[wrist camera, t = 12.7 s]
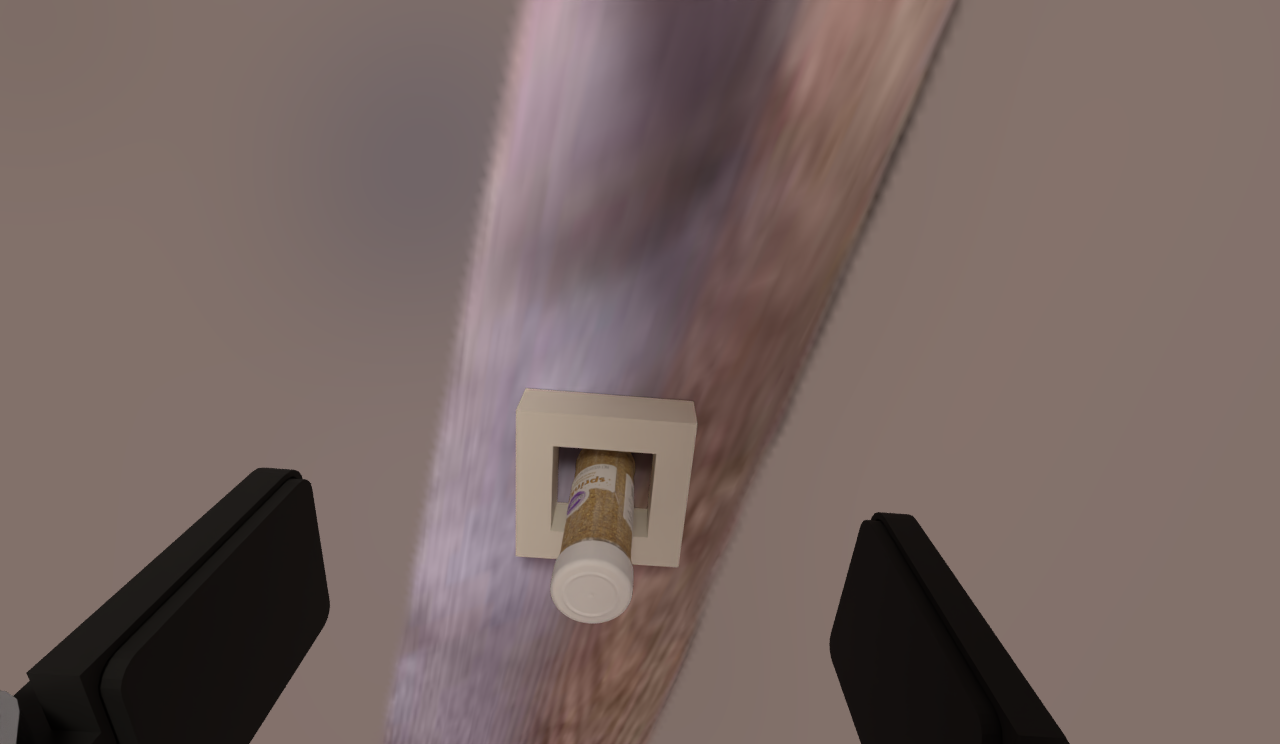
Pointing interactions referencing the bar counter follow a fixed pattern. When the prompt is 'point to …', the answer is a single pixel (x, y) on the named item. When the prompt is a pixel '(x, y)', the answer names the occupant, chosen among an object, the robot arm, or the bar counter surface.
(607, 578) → the sprinkles bottle
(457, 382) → the bar counter surface
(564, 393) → the collar
